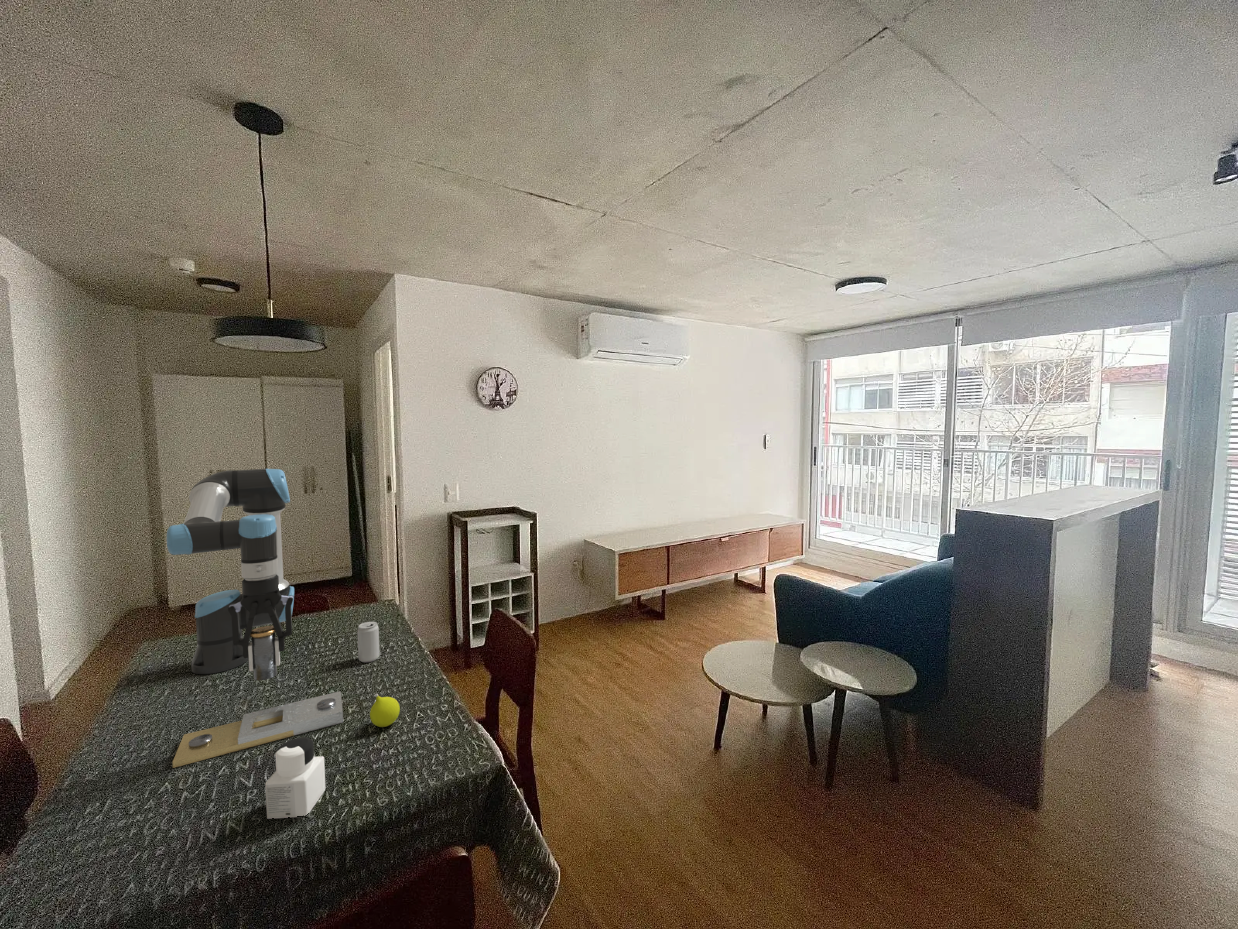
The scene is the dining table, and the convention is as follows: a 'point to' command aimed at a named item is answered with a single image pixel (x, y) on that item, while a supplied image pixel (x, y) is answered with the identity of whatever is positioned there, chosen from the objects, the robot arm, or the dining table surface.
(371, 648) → the beverage can
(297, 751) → the container
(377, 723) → the lemon
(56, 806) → the dining table surface
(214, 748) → the link
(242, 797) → the dining table surface
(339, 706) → the link
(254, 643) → the pin
